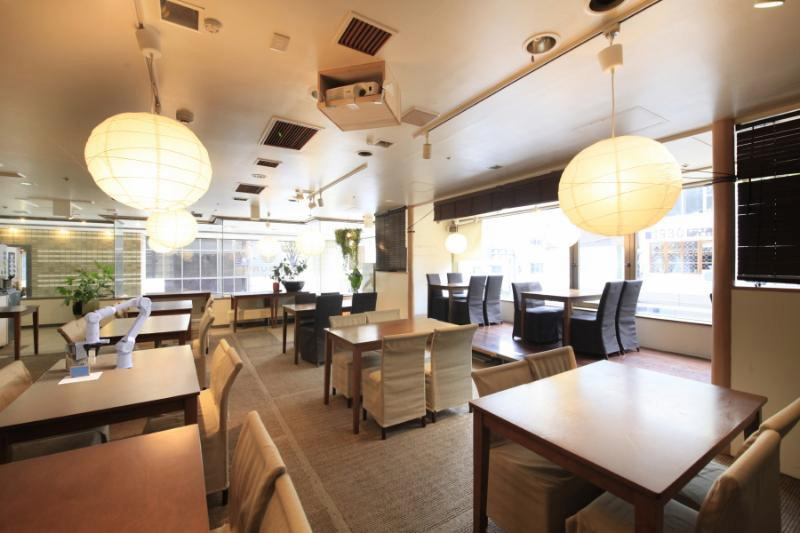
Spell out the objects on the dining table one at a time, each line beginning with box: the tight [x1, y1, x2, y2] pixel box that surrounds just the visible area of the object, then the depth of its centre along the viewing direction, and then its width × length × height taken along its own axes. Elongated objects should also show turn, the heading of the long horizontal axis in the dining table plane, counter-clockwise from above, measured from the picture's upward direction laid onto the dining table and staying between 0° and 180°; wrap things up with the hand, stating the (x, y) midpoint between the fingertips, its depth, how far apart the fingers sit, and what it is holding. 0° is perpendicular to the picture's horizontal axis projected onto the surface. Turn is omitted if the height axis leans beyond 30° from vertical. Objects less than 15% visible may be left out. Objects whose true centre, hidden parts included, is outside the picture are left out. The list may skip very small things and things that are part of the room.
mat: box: [57, 371, 103, 385], centre depth 187 cm, size 14×16×1 cm
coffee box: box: [64, 341, 89, 372], centre depth 201 cm, size 9×6×16 cm
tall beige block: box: [88, 347, 98, 366], centre depth 194 cm, size 6×2×8 cm, turn 33°
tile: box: [69, 364, 91, 378], centre depth 189 cm, size 2×8×6 cm, turn 122°
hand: (92, 356), depth 194 cm, fingers closed on tall beige block, 2 cm apart
